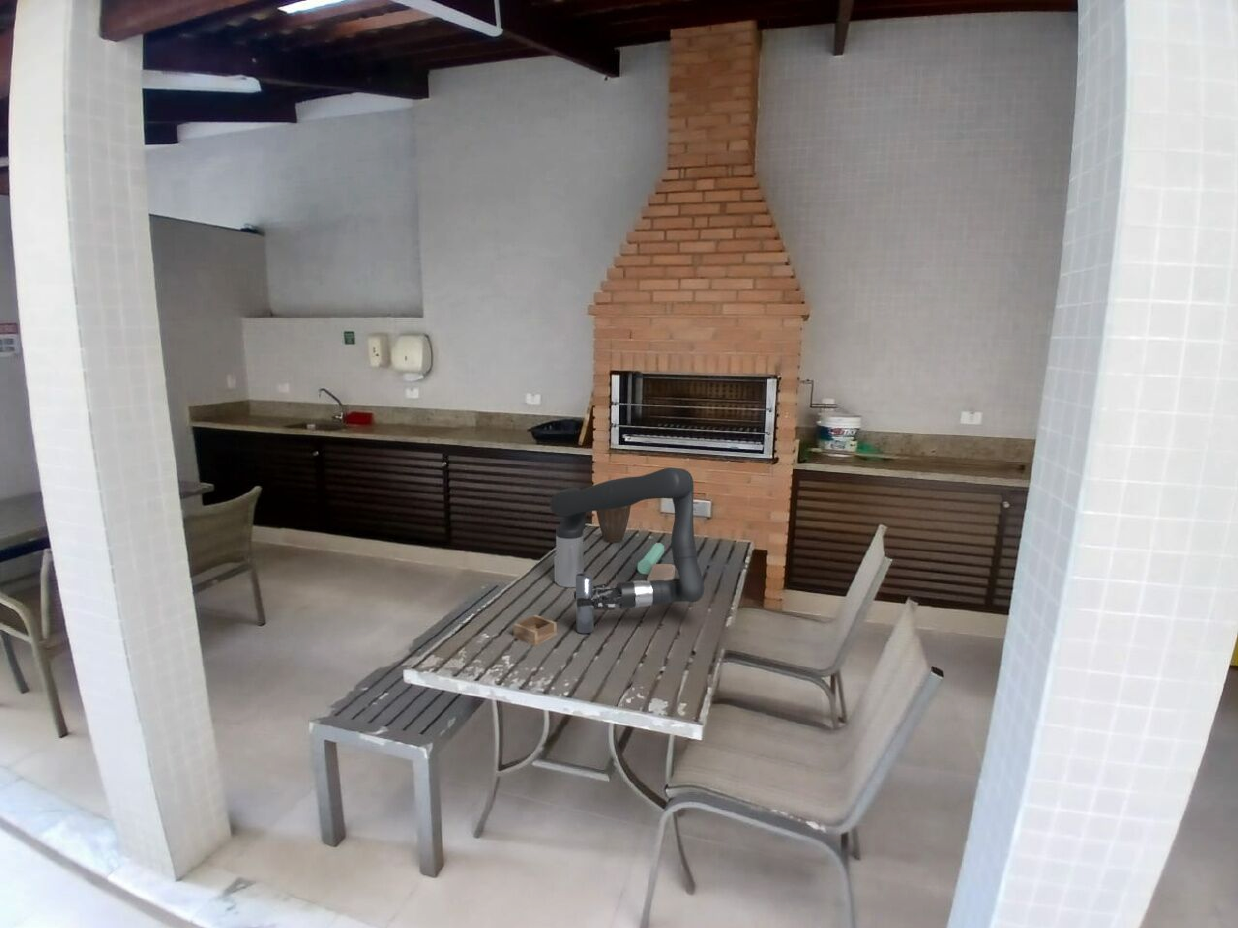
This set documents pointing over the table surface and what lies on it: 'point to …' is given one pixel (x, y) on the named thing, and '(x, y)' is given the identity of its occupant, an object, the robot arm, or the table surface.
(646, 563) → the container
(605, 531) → the plant pot
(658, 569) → the brick
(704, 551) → the table surface
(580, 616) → the rod
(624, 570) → the table surface
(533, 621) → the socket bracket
